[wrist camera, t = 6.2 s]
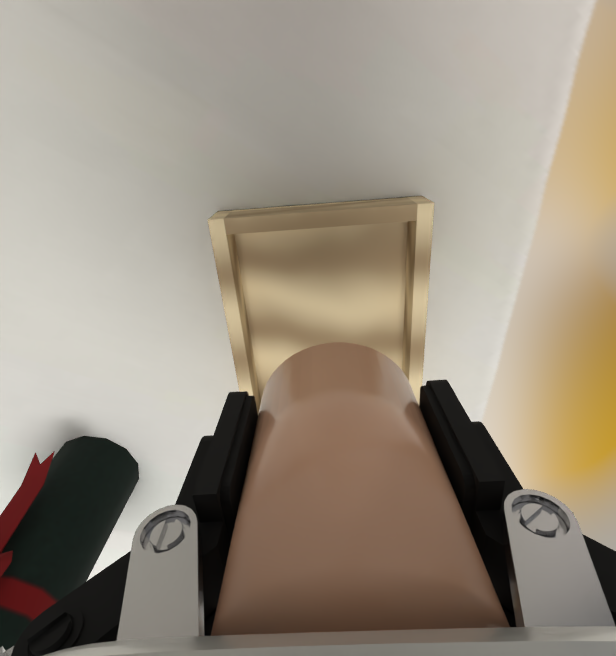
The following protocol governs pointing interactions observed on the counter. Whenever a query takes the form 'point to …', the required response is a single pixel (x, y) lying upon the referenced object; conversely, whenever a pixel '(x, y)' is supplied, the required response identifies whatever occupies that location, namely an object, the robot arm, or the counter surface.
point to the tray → (324, 282)
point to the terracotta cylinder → (349, 510)
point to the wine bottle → (59, 527)
